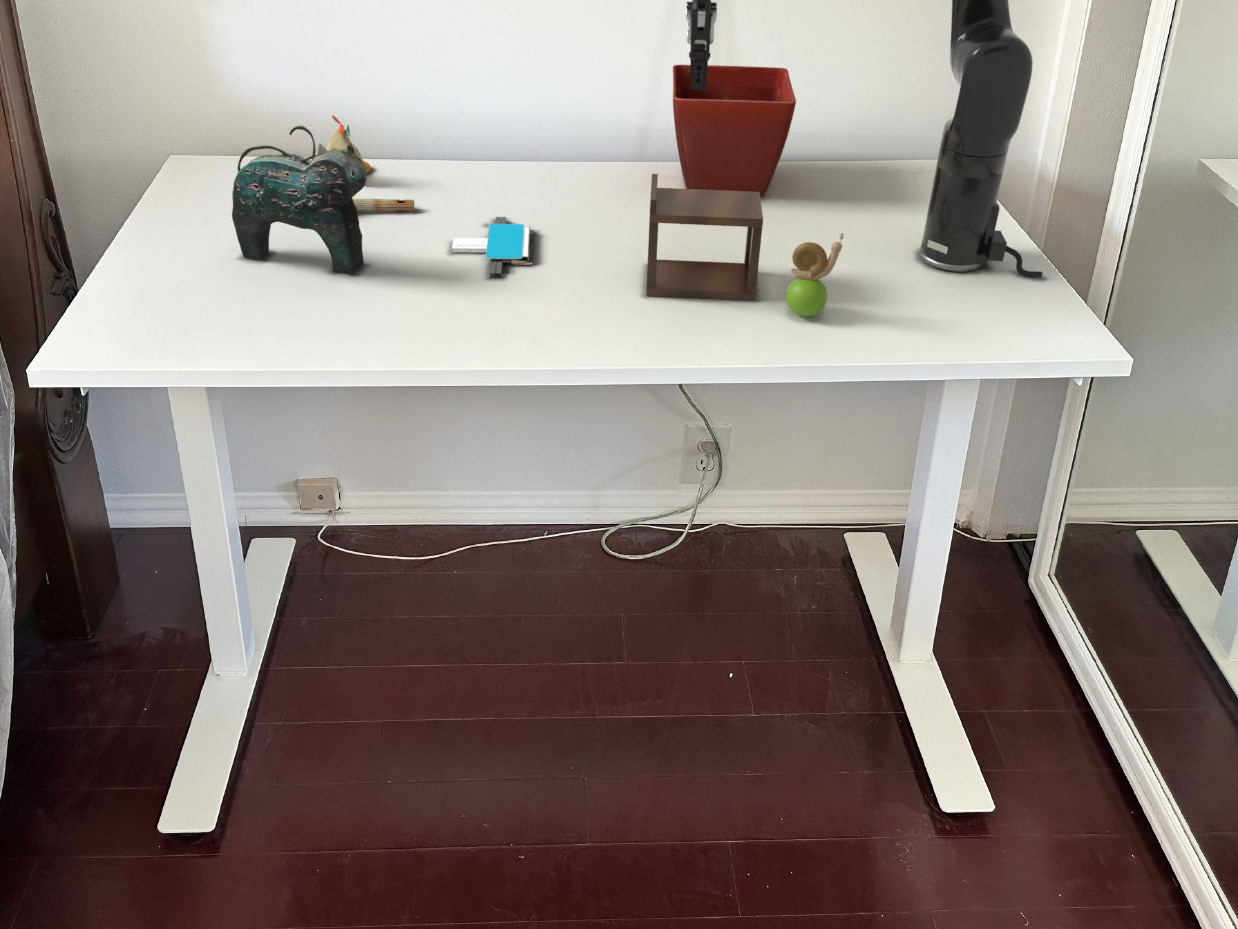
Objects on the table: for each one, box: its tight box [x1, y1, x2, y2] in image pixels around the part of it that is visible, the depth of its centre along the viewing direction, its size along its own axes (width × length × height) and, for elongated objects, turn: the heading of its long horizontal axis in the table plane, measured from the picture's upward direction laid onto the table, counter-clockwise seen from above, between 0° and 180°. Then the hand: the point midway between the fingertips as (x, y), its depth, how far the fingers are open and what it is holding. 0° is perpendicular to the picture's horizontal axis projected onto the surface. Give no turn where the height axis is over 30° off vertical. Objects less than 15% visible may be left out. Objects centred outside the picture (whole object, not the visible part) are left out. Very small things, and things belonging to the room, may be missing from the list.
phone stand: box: [451, 216, 535, 278], centre depth 172 cm, size 20×12×2 cm, turn 3°
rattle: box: [325, 115, 372, 174], centre depth 191 cm, size 8×8×12 cm
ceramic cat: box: [231, 125, 368, 275], centre depth 161 cm, size 20×6×20 cm, turn 74°
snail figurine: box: [785, 233, 844, 318], centre depth 155 cm, size 5×6×12 cm
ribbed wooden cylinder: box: [352, 197, 415, 212], centre depth 182 cm, size 4×3×20 cm
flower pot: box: [672, 64, 797, 197], centre depth 192 cm, size 19×19×17 cm
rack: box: [645, 173, 764, 302], centre depth 161 cm, size 15×10×14 cm, turn 87°
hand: (698, 79), depth 156 cm, fingers open, 8 cm apart
